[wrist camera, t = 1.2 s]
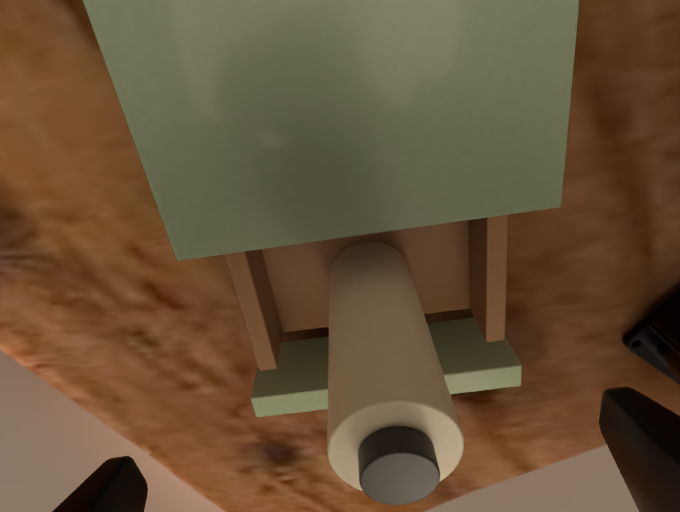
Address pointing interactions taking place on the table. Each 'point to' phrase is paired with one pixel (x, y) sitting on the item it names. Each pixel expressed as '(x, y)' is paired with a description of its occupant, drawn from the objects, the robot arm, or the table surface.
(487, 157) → the cabinet
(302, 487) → the table surface
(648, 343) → the robot arm
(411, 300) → the lotion bottle
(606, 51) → the table surface
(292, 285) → the drawer
